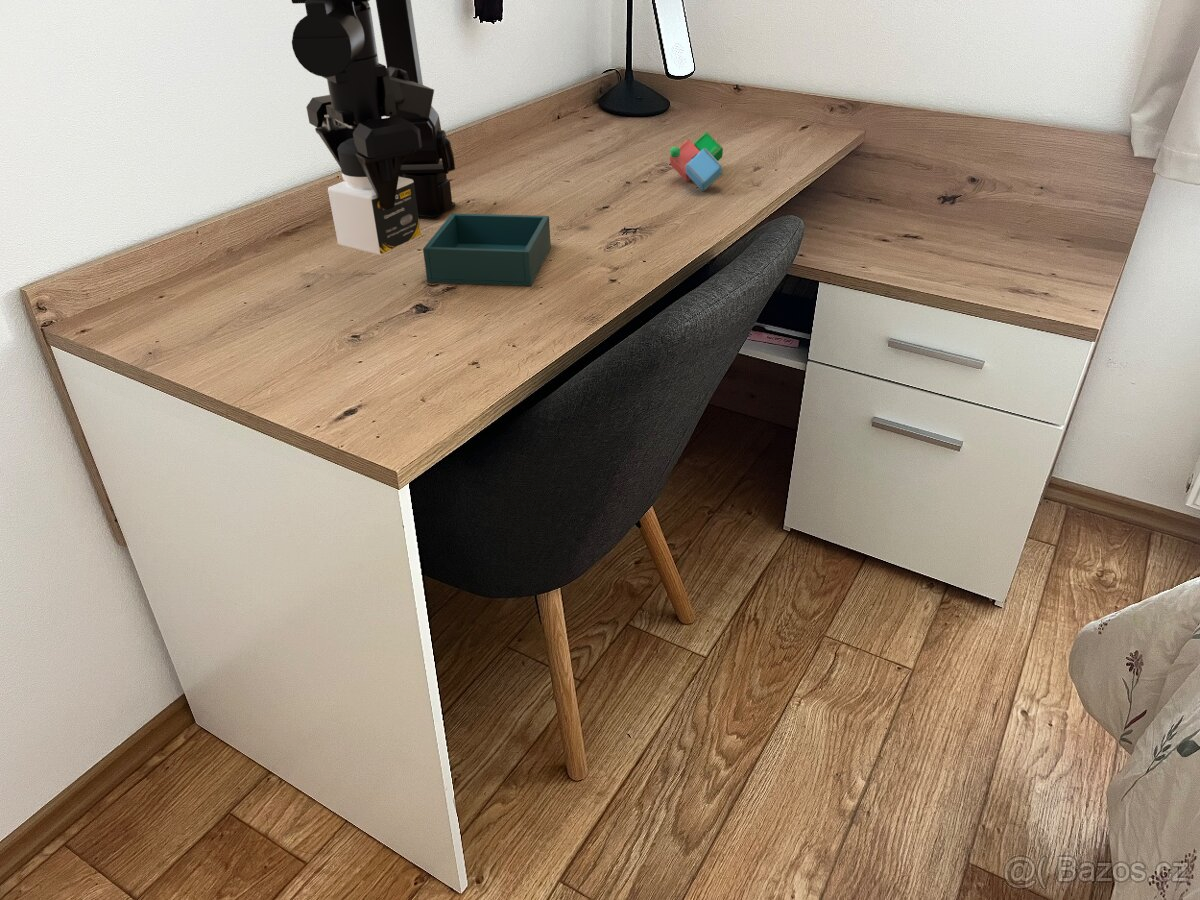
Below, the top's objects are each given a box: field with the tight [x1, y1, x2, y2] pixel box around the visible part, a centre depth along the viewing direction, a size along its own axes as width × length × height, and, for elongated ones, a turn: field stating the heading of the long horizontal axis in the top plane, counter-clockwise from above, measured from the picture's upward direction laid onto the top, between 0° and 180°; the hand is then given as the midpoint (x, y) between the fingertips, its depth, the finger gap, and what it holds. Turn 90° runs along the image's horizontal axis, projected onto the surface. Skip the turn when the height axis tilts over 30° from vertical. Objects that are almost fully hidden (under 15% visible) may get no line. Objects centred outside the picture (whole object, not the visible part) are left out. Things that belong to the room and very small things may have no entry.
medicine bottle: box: [327, 138, 422, 257], centre depth 109 cm, size 7×7×12 cm
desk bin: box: [422, 212, 552, 287], centre depth 122 cm, size 13×13×4 cm
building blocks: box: [669, 131, 724, 192], centre depth 148 cm, size 8×8×12 cm
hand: (373, 198), depth 109 cm, fingers closed on medicine bottle, 8 cm apart
